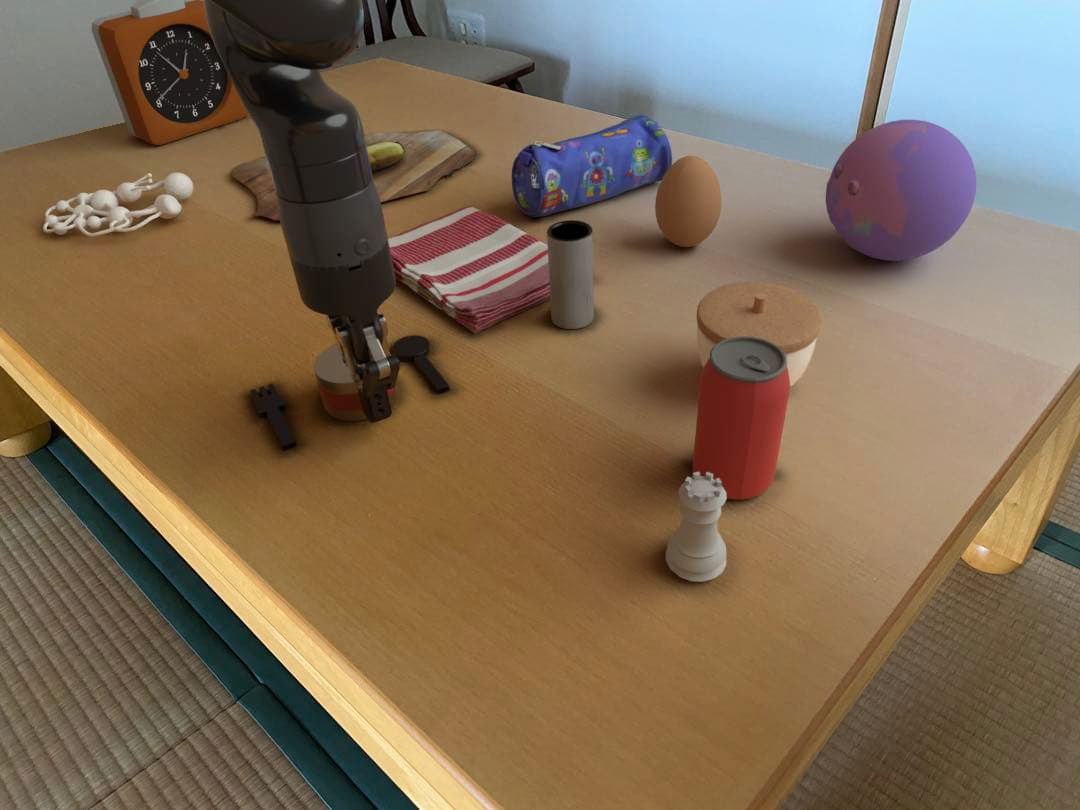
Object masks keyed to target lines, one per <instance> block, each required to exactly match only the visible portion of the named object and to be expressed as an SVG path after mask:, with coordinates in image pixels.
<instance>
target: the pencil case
mask: <svg viewBox="0 0 1080 810" xmlns="http://www.w3.org/2000/svg"><path fill="white" fill-rule="evenodd" d="M671 165H673V151H672V147H671V144H670V141H669V137H668V136H667V133H666V132H665V131H664V129H663V128H662V126H659V123H658V122H657V121H655V120H653V119H651V118H649V116H648V115H645V114H637V115H635V116H632V117H629V118H628V119H625V120H622V121H620V122H619V123H616V124H614V125H610V126H608V127H606V128H603V129H601V130H598V131H595V132H592V133H588V134H584V135H581V136H580V135H579V136H576V137H572V138H570V137H569V138H567V139H564V140H561V141H556V142H553V143H548V142H542V141H540V140H534V141H533V143H531V144H528V145H527V146H525V147H523V148H522V149H521V150H520V151H519V153H518V154H517V156H516V157H515V158H514V160H513V162H512V166H511V189H512V195H513V198H514V200H515V203H516V205H517V206H518V208H519V210H520V211H522V213H523V214H525V215H526V216H528V217H530V218H537V217H546V216H547V217H548V216H550V215H553V214H556V213H560V212H563V211H569V210H574V209H577V208H581V207H584V206H587V205H591V204H594V203H598V202H602V201H605V200H608V199H610V198H612V197H615V196H618V195H620V194H623V193H625V192H628V191H629V192H630V191H633V190H635V189H638V188H640V187H641V186H645V185H648V184H649V185H650V184H653V183H656V182H661V181H662V179H663V177H664V175H665V173H666V172H667V171H668V169H669V168H670V166H671Z"/></svg>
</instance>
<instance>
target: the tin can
mask: <svg viewBox="0 0 1080 810" xmlns="http://www.w3.org/2000/svg"><path fill="white" fill-rule="evenodd" d="M389 354H391V351H389ZM313 371H314V375H315V379H316V384H317V388H318V391H319V395H320V398H321V401H322V404H323V407H324V410H325V411H326V412H327V414H328V415H329V416H331V417H333V418H334V419H337V420H340V421H344V422H361V421H366V420H367V421H368V419H367V417H366V416H365V414H364V413H363V409H362V405H361V401H360V397H359V393H358V389H357V385H356V383H357V382H356V383H355V382H354V380H353V379H351V376H350V374H351V372H350V369H349V367H348V366H346V364H345V363H344V362H343V360H342V357H341V355H340V354H339V350H338V346H337V343H334V344H332V345H330V346H328V347H327V348H325V349H324V350H323V351H321V352H320V353H319V354H318V355H317V356H316V358H315V360H314V363H313ZM387 392H388V396H389V401H390V406H391V407H393V406H394V404H395V403H396V401H397V398H398V394H399V391H398V386H397V383H396V384H395V388H393V389H390V390H389V389H388V390H387Z"/></svg>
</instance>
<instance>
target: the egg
mask: <svg viewBox="0 0 1080 810" xmlns="http://www.w3.org/2000/svg"><path fill="white" fill-rule="evenodd" d="M654 210H655V212H654V213H655V219H656V223H657V226H658V229H659V230H660V231H661V233H662V234H663V236H664V237H665V238H666V239H667V240H668V241H669V242H670V243H672V244H673V245H675V246H678V247H683V248H691V247H695V246H697V245H699V244H701V243H703V241H705V240H706V239H707V238H708V237H709V236H710V235H711V234H712V233H713V231H714V230H715V229H716V226H717V225H718V222H719V220H720V219H719V218H720V216H721V212H722V191H721V186H720V182H719V180H718V177H717V175H716V173H715V171H714V169H713V168H712V166H711V165H710V164H709V162H707V161H706V160H705V159H703V158H701V157H699V156H695V155H685V156H684V157H681V158H678V159H677V160H675V162H674V163H672V165H671V166H670V168H669V169H668V171H667V172H666V173H665V175H664V177H663V179H662V180H661V181H660V183H659V184H658V187H657V191H656V196H655V205H654Z"/></svg>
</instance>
